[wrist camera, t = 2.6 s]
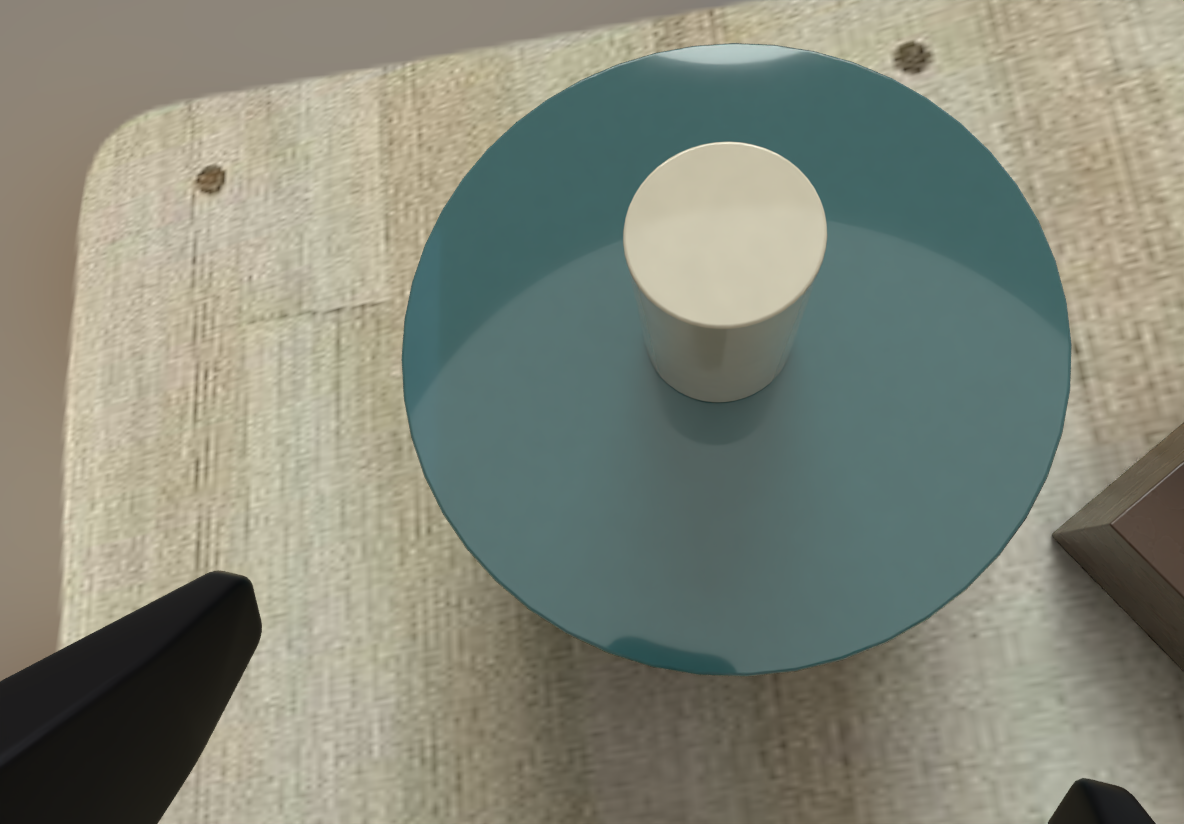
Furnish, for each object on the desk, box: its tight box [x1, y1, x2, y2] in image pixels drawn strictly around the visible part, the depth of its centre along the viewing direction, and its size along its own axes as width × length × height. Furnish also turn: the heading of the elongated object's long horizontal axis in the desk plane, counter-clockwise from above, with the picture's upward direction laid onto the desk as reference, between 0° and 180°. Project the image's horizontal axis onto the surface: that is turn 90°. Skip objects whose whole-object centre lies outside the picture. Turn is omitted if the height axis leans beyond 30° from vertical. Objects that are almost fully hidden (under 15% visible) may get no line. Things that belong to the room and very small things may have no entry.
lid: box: [402, 43, 1071, 677], centre depth 13 cm, size 12×12×5 cm
